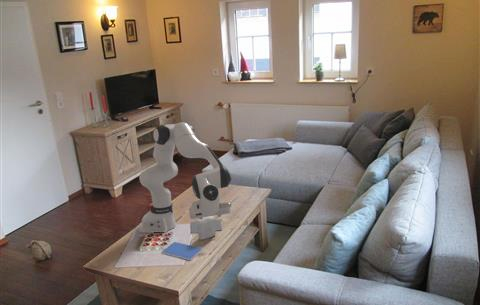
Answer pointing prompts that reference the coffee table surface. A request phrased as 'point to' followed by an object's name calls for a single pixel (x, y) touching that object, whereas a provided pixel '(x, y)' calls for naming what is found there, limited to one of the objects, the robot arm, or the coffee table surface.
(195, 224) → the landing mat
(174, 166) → the robot arm
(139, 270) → the coffee table surface
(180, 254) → the tablet computer
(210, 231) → the photo printer
